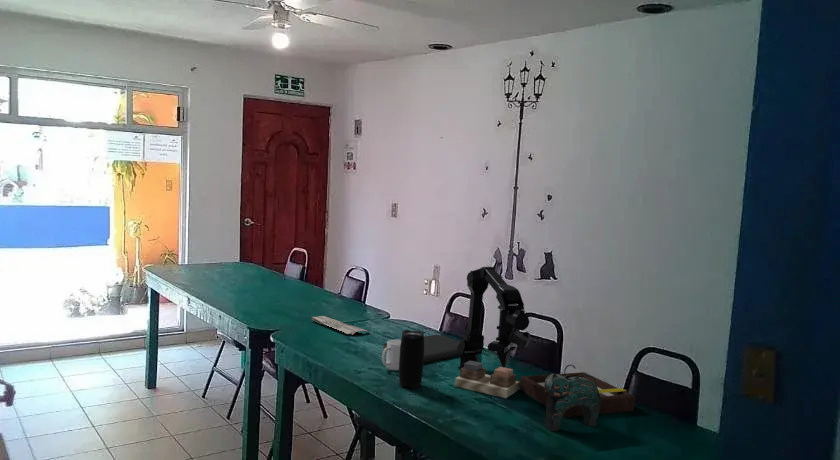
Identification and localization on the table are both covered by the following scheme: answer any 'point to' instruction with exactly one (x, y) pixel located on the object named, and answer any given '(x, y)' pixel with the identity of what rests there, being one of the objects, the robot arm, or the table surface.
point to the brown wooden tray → (610, 403)
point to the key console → (487, 383)
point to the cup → (392, 355)
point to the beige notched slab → (337, 325)
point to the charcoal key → (473, 366)
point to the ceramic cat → (571, 399)
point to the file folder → (438, 348)
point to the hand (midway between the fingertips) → (504, 366)
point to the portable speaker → (411, 359)
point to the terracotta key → (503, 372)
